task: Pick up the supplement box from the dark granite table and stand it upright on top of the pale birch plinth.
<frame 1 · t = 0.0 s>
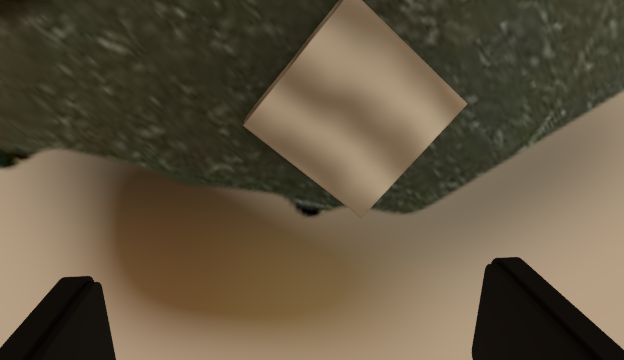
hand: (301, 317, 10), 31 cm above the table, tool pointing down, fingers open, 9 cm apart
birch plinth: (348, 106, 40), on the table
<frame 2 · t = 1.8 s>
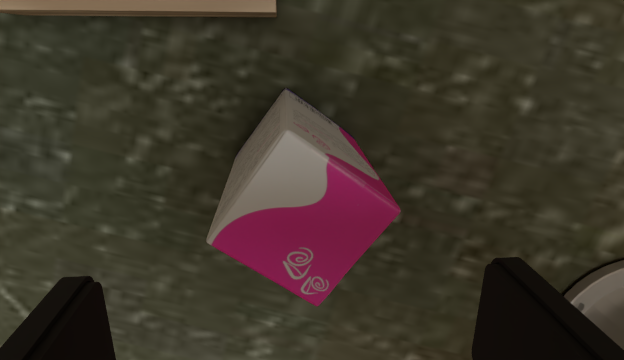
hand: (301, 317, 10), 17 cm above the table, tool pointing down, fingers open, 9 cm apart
supplement box: (294, 149, 27), on the table
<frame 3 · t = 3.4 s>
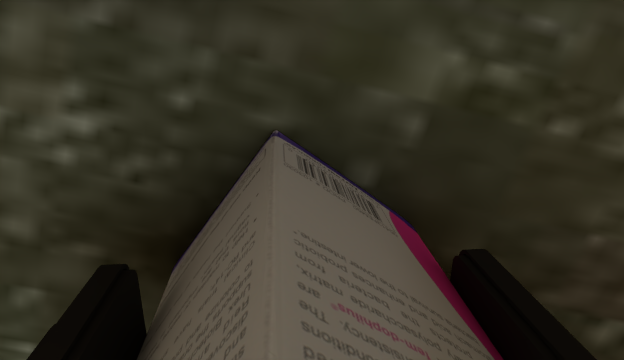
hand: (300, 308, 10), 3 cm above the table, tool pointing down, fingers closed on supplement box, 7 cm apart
supplement box: (294, 247, 13), on the table, touching gripper
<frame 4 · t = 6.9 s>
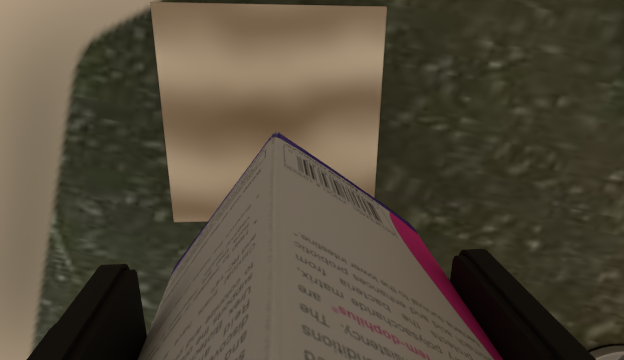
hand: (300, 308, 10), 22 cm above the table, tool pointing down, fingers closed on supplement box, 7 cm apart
supplement box: (295, 248, 13), point 19 cm above the table, touching gripper
birch plinth: (273, 109, 31), on the table
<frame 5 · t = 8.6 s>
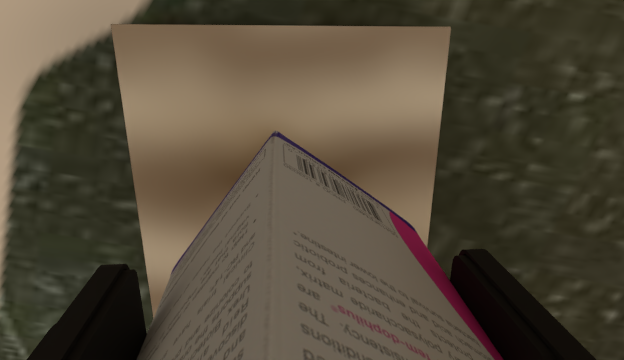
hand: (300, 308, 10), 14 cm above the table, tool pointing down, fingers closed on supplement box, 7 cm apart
supplement box: (294, 247, 13), point 11 cm above the table, touching gripper
birch plinth: (286, 158, 23), on the table
when the fingers open (9 cm above the table, at t = 10.2 s): supplement box drops 1 cm, resting on birch plinth.
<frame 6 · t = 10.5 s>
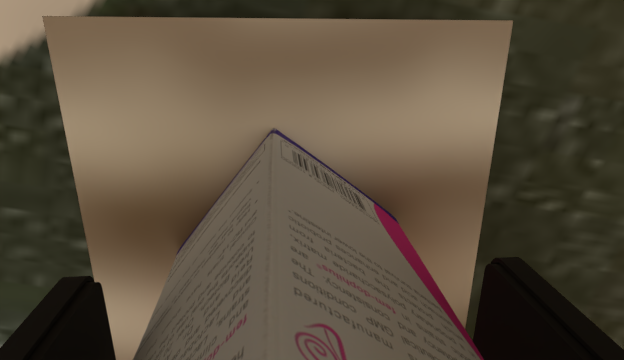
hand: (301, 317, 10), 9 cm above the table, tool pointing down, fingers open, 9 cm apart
supplement box: (288, 234, 15), point 4 cm above the table, touching birch plinth
birch plinth: (287, 186, 19), on the table
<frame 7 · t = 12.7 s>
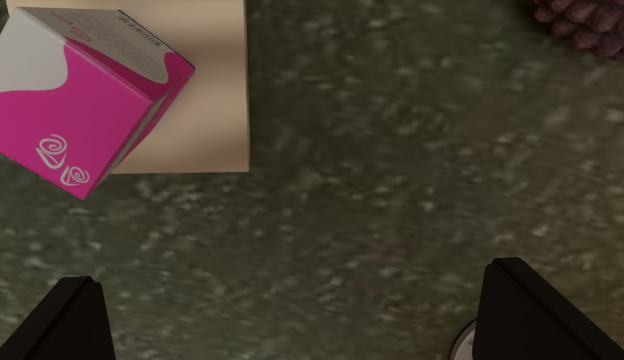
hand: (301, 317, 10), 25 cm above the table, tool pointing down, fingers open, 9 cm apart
supplement box: (136, 75, 27), point 4 cm above the table, touching birch plinth
birch plinth: (153, 65, 31), on the table
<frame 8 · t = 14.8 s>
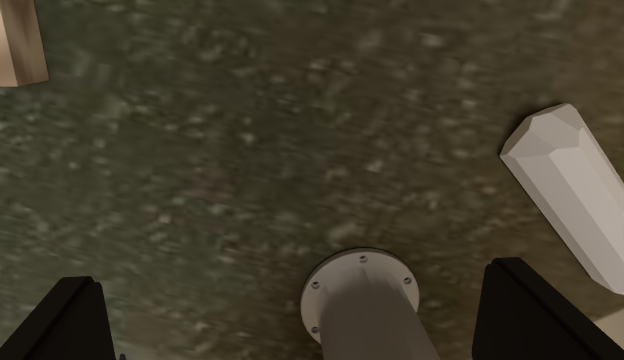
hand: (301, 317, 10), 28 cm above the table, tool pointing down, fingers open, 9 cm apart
white chamfered bar: (573, 195, 43), on the table
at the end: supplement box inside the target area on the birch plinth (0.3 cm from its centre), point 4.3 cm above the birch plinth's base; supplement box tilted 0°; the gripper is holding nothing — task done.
